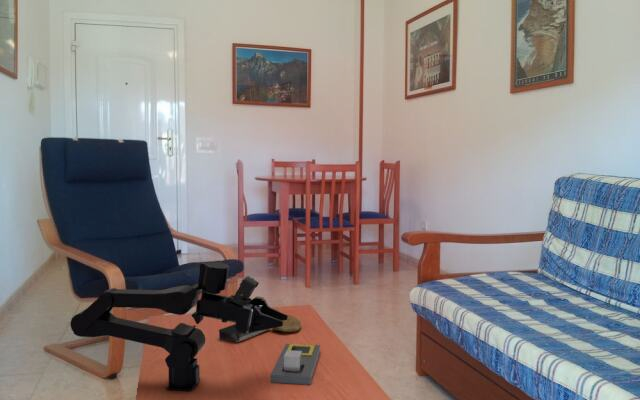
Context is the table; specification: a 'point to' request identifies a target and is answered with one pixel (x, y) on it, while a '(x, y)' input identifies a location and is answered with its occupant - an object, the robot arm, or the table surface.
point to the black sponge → (236, 333)
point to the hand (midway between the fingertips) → (285, 320)
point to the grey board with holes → (308, 365)
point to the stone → (289, 325)
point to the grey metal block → (293, 361)
